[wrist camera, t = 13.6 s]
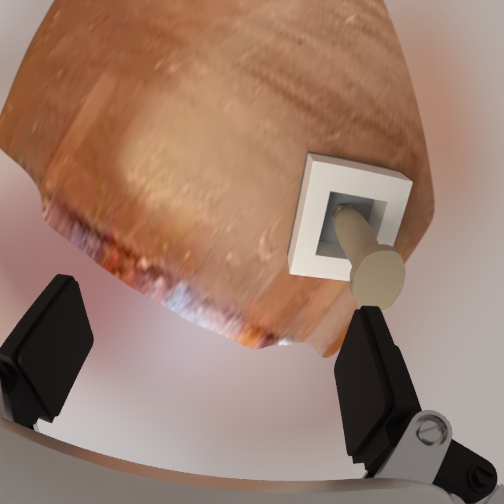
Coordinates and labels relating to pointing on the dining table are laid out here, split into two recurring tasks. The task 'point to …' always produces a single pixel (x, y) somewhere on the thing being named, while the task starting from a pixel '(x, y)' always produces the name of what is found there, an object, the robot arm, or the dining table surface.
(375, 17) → the dining table surface
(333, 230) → the socket stand
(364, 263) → the handle
